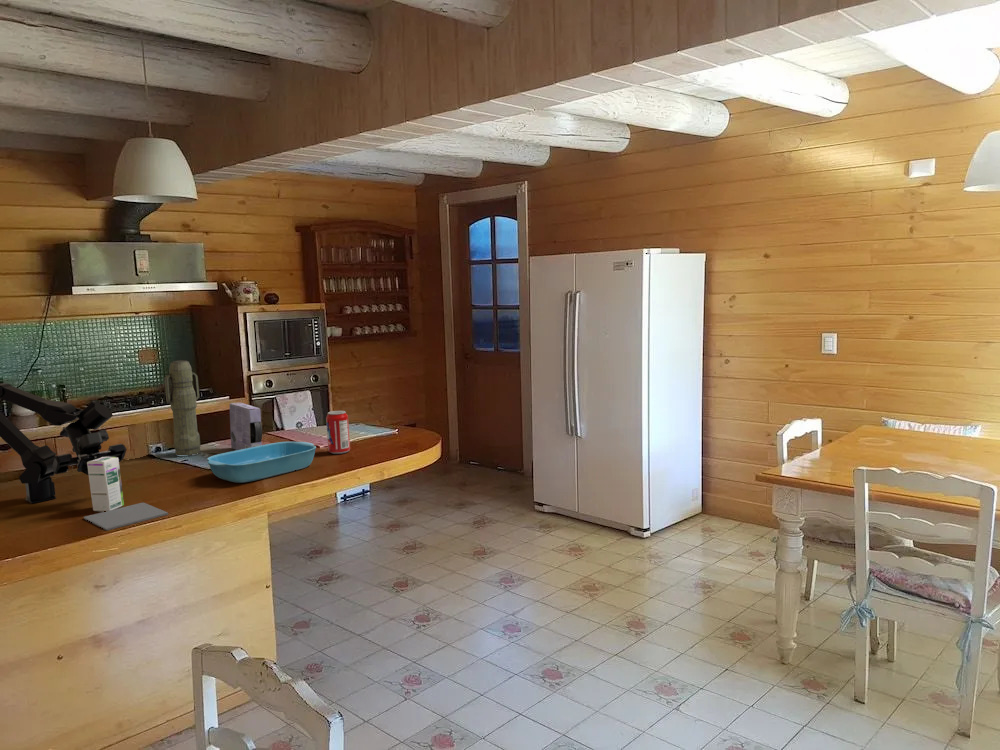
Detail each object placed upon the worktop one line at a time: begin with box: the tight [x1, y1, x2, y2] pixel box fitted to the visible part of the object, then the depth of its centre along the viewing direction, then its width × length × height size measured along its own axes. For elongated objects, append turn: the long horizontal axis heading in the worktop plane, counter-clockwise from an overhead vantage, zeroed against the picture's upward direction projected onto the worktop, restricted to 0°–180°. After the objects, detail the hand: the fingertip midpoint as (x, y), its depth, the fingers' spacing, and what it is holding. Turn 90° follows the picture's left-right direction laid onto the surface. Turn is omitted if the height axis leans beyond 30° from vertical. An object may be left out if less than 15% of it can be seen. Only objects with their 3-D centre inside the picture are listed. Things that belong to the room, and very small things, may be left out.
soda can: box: [325, 410, 351, 455], centre depth 267 cm, size 8×8×15 cm
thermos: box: [163, 359, 201, 455], centre depth 272 cm, size 9×12×35 cm
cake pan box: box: [228, 402, 263, 451], centre depth 274 cm, size 19×5×18 cm, turn 42°
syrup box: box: [87, 457, 125, 512], centre depth 208 cm, size 6×6×14 cm
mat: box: [83, 502, 169, 531], centre depth 201 cm, size 16×16×1 cm
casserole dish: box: [206, 441, 317, 484], centre depth 244 cm, size 37×22×7 cm, turn 141°
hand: (100, 481), depth 211 cm, fingers closed
